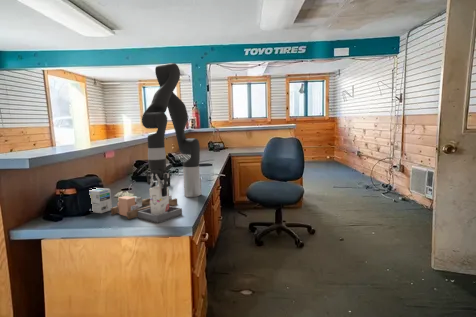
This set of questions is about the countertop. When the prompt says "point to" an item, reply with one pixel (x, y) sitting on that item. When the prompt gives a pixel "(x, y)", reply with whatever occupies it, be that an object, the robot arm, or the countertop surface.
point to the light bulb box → (100, 200)
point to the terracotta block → (125, 204)
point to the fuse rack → (140, 203)
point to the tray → (165, 216)
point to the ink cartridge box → (158, 200)
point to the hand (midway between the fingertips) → (159, 195)
